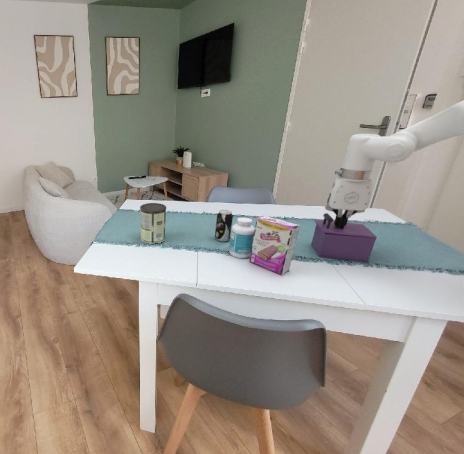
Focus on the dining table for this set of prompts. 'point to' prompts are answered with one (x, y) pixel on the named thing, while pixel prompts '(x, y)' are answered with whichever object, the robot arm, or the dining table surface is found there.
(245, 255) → the pill bottle
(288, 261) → the candy bar box
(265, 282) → the dining table surface
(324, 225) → the lid
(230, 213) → the beverage can
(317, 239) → the box
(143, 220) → the coffee can
